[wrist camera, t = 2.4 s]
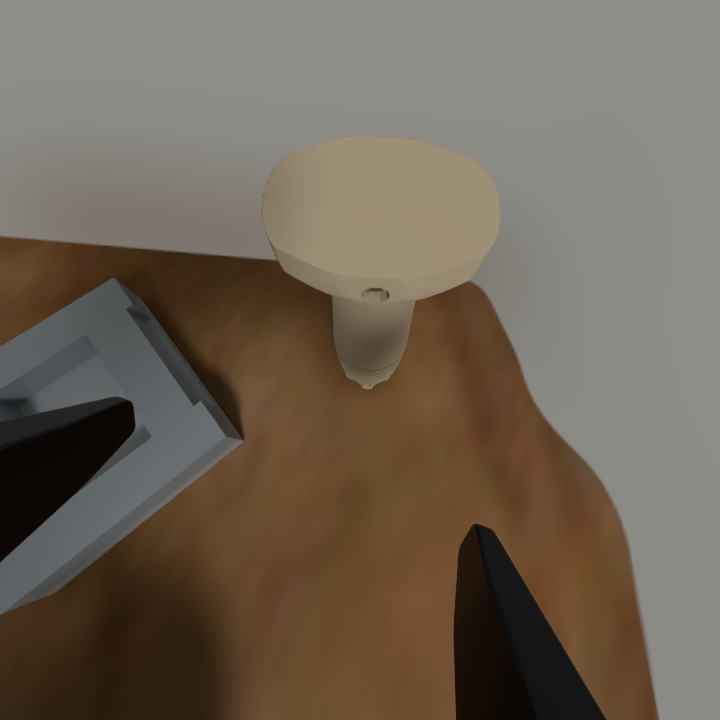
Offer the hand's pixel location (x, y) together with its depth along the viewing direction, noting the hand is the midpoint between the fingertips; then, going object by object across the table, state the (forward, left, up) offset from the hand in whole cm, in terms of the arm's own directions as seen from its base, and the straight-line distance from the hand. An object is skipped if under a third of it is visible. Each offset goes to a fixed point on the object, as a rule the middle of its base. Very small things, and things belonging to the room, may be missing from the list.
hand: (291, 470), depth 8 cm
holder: (+4, +15, -13) cm, 21 cm away
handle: (+7, -3, -14) cm, 15 cm away
